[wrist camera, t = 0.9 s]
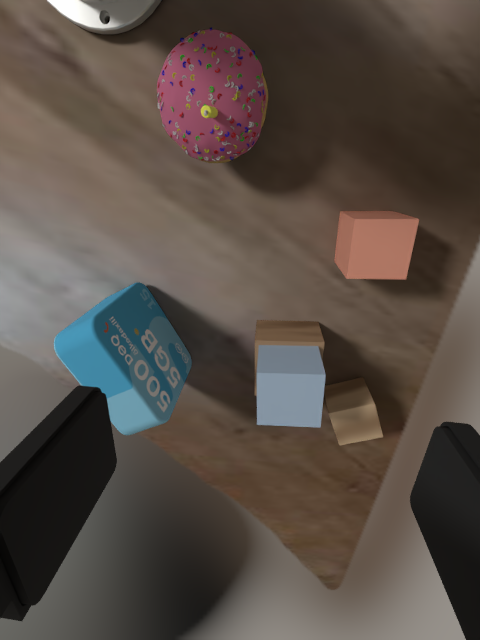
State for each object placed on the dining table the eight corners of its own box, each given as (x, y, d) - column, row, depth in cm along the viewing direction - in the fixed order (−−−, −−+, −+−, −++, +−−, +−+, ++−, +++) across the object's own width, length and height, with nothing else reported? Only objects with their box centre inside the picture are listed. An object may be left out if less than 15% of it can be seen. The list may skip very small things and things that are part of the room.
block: (322, 386, 40) (328, 413, 35) (362, 376, 39) (374, 403, 34) (332, 415, 41) (339, 445, 37) (370, 407, 40) (383, 436, 36)
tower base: (257, 319, 37) (254, 340, 32) (318, 321, 36) (324, 342, 32) (256, 370, 40) (254, 395, 35) (313, 372, 39) (318, 398, 34)
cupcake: (282, 139, 29) (289, 118, 18) (201, 181, 31) (162, 184, 20) (244, 29, 26) (224, -76, 15) (157, 84, 28) (83, 26, 17)
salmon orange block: (340, 211, 31) (354, 219, 25) (392, 211, 30) (419, 219, 25) (334, 261, 33) (346, 278, 28) (383, 261, 32) (406, 279, 27)
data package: (195, 360, 40) (166, 430, 29) (165, 372, 41) (127, 443, 30) (142, 277, 36) (85, 322, 25) (111, 293, 37) (44, 343, 26)
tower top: (258, 345, 32) (256, 372, 28) (318, 346, 32) (325, 374, 27) (258, 392, 35) (257, 424, 30) (313, 393, 34) (320, 427, 30)
